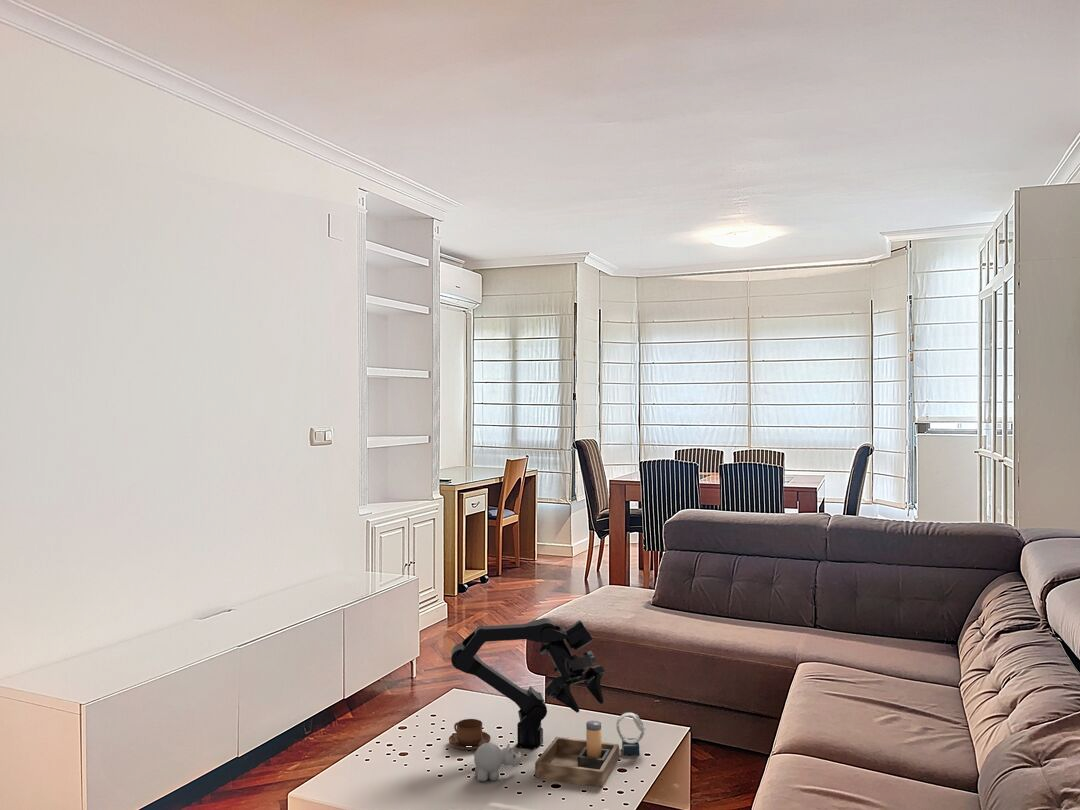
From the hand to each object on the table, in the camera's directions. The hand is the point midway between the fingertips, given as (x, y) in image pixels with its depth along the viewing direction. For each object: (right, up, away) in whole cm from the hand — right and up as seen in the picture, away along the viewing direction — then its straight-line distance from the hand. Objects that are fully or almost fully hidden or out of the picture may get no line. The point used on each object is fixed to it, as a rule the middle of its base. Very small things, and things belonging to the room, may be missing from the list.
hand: (590, 707), depth 231 cm
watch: (+11, -14, +2) cm, 18 cm away
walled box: (-4, -14, -8) cm, 16 cm away
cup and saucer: (-34, -15, +10) cm, 38 cm away
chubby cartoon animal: (-25, -14, -12) cm, 31 cm away
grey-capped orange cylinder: (+1, -13, -6) cm, 14 cm away
